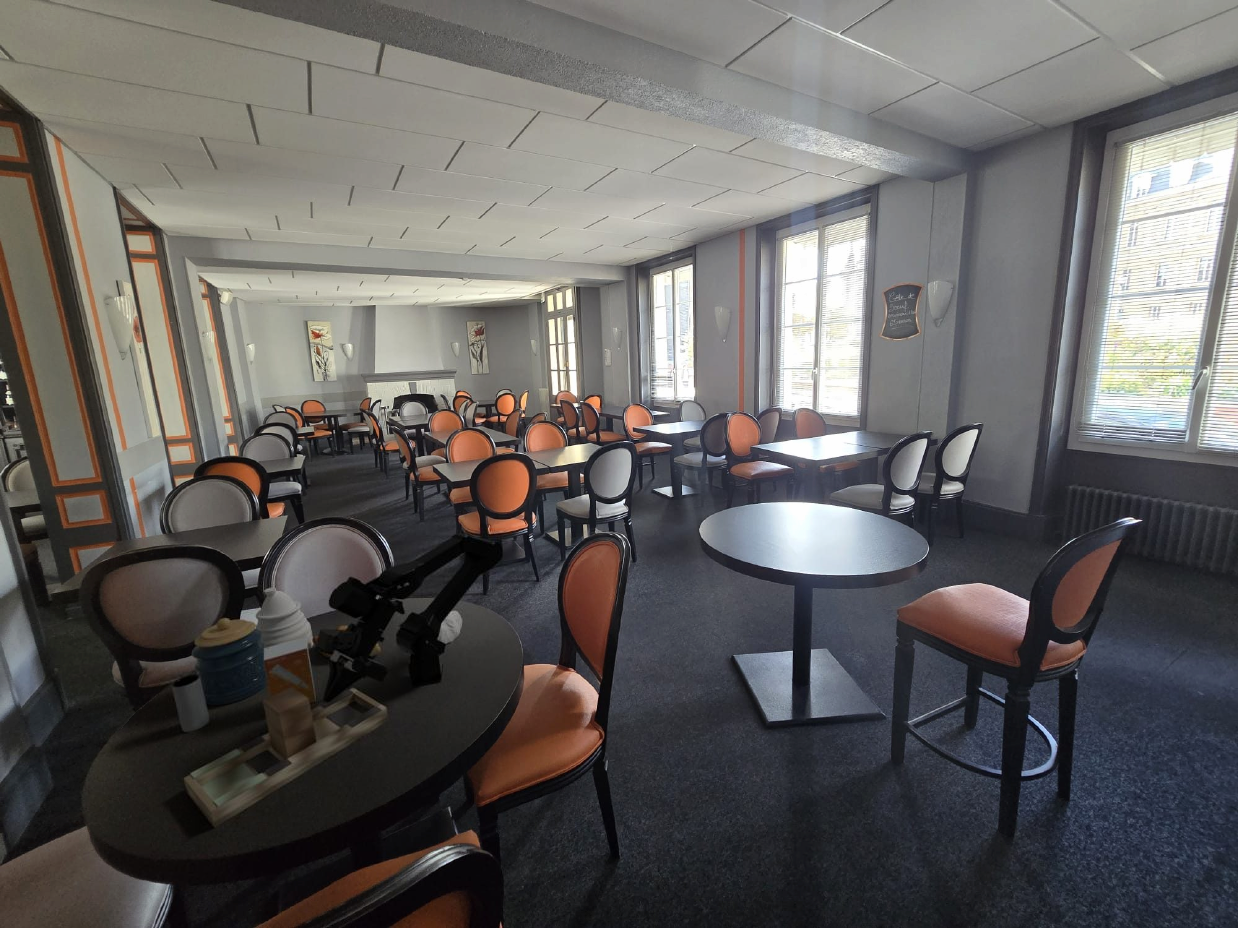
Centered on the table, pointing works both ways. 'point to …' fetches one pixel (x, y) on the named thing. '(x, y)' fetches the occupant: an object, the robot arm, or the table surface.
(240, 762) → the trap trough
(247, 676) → the canister
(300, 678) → the small box
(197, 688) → the planter
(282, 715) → the walnut block
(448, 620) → the white lumpy piece
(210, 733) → the table surface
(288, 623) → the honey pot
